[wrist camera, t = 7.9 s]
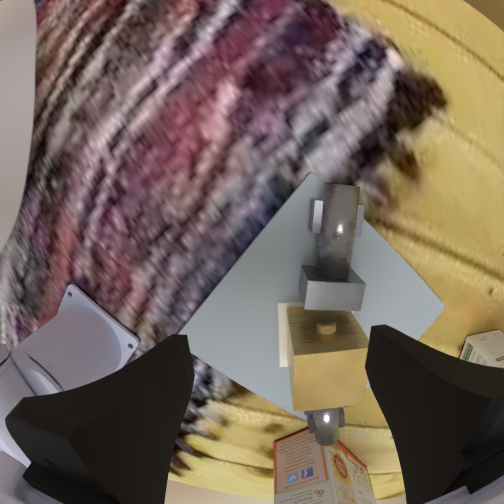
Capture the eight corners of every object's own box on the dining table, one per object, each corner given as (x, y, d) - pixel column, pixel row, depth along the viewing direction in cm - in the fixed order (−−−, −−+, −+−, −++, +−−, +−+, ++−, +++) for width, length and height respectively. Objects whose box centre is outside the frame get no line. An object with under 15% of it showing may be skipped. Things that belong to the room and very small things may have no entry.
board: (317, 421, 24) (318, 427, 23) (176, 335, 22) (173, 340, 21) (441, 303, 21) (446, 307, 20) (309, 172, 19) (311, 171, 18)
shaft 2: (298, 373, 22) (302, 399, 19) (341, 364, 21) (350, 389, 18) (306, 428, 23) (309, 453, 20) (343, 421, 23) (349, 445, 20)
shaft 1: (347, 292, 20) (360, 311, 17) (298, 289, 20) (304, 309, 17) (360, 187, 18) (379, 189, 15) (309, 181, 18) (318, 181, 15)
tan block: (341, 357, 21) (361, 407, 15) (287, 362, 21) (293, 416, 15) (346, 298, 20) (374, 340, 14) (285, 302, 20) (293, 349, 14)
